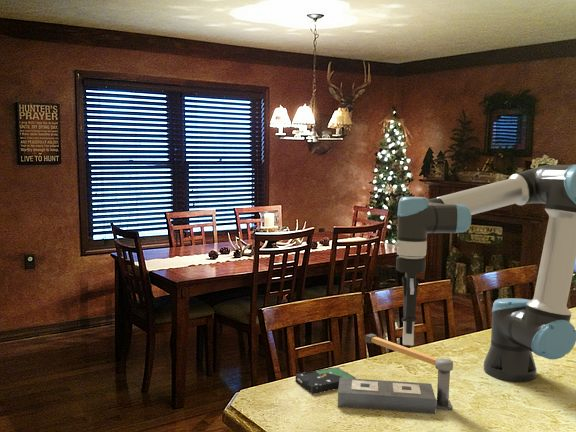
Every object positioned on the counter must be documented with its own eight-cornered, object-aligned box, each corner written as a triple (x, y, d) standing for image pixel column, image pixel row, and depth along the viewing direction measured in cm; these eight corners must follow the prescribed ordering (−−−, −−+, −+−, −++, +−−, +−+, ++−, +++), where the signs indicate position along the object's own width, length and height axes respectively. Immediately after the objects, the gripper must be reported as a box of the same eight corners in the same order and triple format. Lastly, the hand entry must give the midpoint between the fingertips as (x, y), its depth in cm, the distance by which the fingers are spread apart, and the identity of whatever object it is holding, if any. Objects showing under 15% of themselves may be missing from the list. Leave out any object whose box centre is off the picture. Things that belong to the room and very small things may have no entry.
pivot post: (449, 403, 147) (451, 367, 146) (452, 410, 143) (453, 373, 142) (432, 402, 148) (434, 366, 147) (435, 409, 143) (436, 372, 142)
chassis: (430, 397, 150) (431, 381, 150) (435, 414, 140) (435, 397, 140) (339, 391, 154) (339, 375, 153) (337, 406, 144) (338, 390, 143)
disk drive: (312, 396, 152) (356, 386, 158) (312, 387, 151) (356, 377, 158) (294, 383, 161) (337, 374, 167) (294, 373, 160) (337, 365, 167)
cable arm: (456, 369, 144) (456, 361, 143) (445, 372, 141) (446, 365, 141) (373, 339, 167) (373, 333, 167) (363, 342, 164) (363, 335, 164)
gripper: (395, 251, 149) (392, 335, 152) (397, 260, 137) (394, 351, 139) (423, 252, 148) (420, 337, 151) (428, 261, 136) (425, 353, 138)
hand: (408, 344), depth 145 cm, fingers closed
